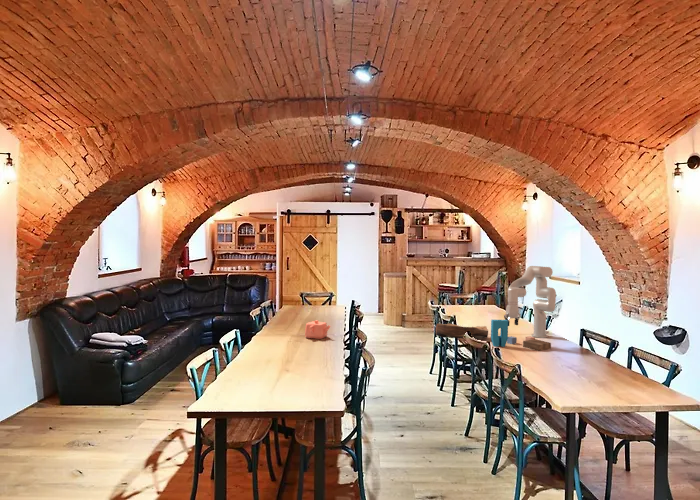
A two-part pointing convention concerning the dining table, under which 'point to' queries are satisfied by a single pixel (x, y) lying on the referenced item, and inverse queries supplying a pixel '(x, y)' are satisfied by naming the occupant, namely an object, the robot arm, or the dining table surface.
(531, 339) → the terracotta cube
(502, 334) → the block
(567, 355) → the dining table surface
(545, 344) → the walnut base block
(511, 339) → the slate-blue cube
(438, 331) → the log
